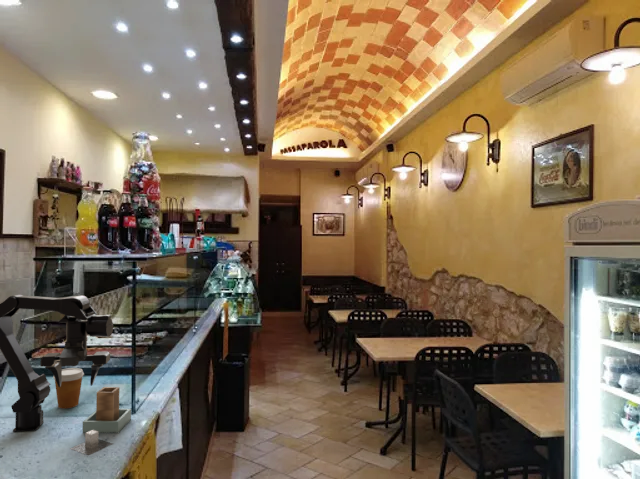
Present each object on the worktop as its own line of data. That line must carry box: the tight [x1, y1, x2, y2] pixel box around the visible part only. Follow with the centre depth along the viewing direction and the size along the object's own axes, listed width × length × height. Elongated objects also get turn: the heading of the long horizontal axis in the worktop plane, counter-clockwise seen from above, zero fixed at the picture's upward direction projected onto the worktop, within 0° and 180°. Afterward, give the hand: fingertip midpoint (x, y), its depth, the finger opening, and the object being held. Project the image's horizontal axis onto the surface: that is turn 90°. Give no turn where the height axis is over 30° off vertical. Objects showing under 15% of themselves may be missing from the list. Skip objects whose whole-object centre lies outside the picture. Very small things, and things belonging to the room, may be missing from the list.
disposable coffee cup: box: [52, 367, 85, 410], centre depth 164 cm, size 10×10×12 cm
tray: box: [82, 408, 132, 434], centre depth 146 cm, size 11×11×4 cm
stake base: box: [69, 430, 114, 456], centre depth 132 cm, size 8×8×5 cm
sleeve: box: [95, 386, 120, 421], centre depth 146 cm, size 5×5×11 cm
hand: (75, 386), depth 146 cm, fingers open, 9 cm apart
